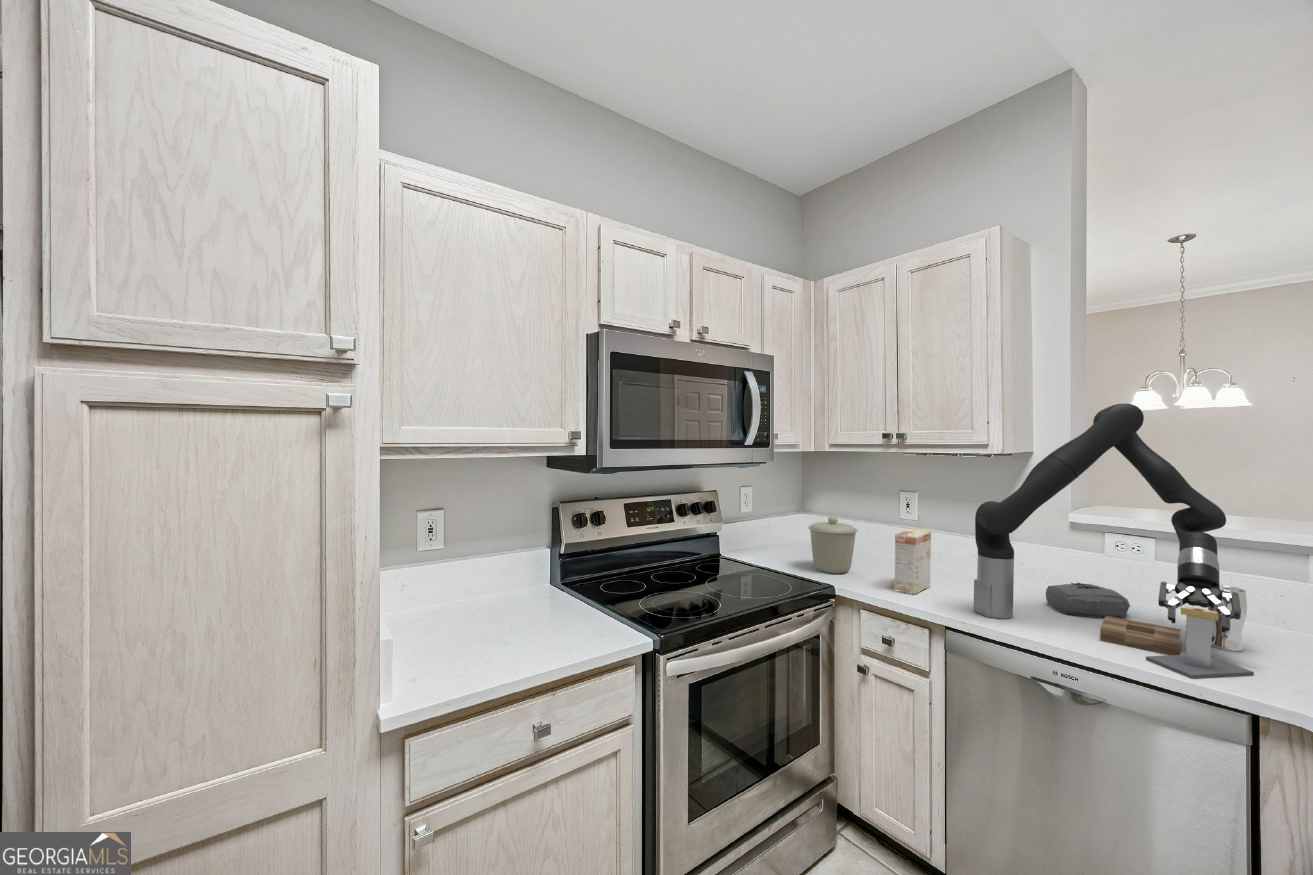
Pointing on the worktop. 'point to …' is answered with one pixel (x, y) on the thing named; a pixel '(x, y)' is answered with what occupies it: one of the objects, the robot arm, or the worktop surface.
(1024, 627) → the worktop surface
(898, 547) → the coffeecake box
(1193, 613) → the t key
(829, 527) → the canister
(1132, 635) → the socket block
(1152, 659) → the slate mat
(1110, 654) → the worktop surface
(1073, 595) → the grey rounded bag
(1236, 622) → the beer glass
